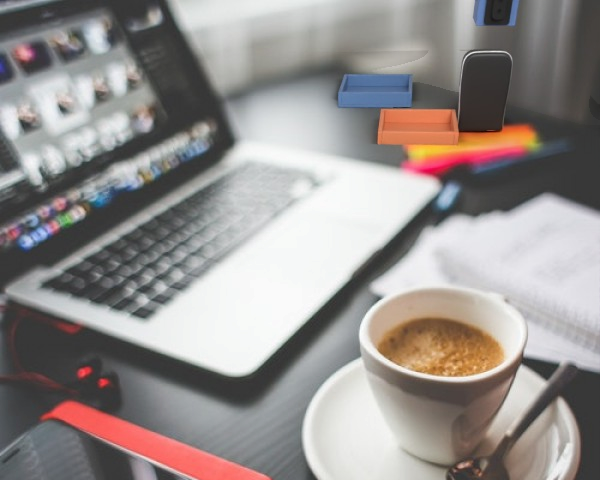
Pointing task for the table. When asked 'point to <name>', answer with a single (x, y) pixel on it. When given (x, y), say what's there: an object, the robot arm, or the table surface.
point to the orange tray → (418, 127)
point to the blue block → (480, 13)
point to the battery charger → (484, 89)
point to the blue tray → (375, 90)
